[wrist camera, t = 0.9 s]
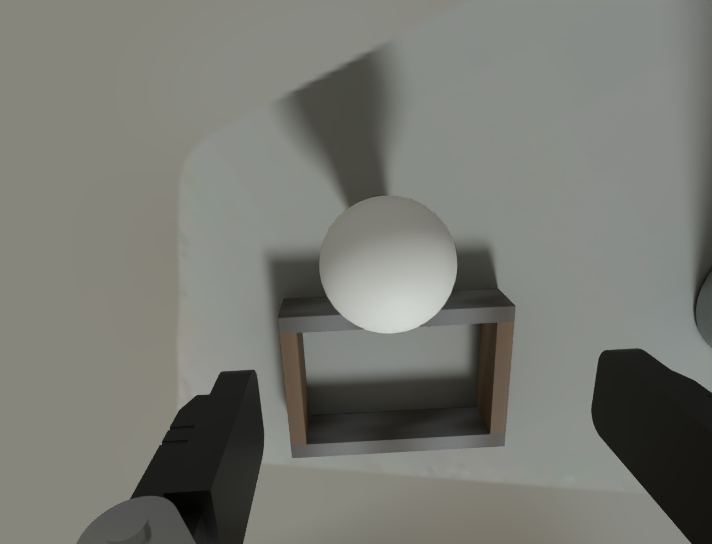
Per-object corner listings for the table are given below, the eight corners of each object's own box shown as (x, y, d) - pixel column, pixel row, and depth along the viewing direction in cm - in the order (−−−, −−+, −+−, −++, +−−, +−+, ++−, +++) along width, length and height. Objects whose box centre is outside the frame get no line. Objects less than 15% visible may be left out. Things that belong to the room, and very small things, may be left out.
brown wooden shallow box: (498, 288, 29) (515, 306, 26) (489, 417, 32) (504, 446, 29) (283, 299, 29) (277, 318, 26) (296, 428, 32) (292, 458, 29)
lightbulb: (313, 190, 27) (296, 232, 16) (412, 165, 26) (460, 190, 16) (339, 283, 28) (338, 374, 18) (432, 260, 28) (486, 338, 18)
